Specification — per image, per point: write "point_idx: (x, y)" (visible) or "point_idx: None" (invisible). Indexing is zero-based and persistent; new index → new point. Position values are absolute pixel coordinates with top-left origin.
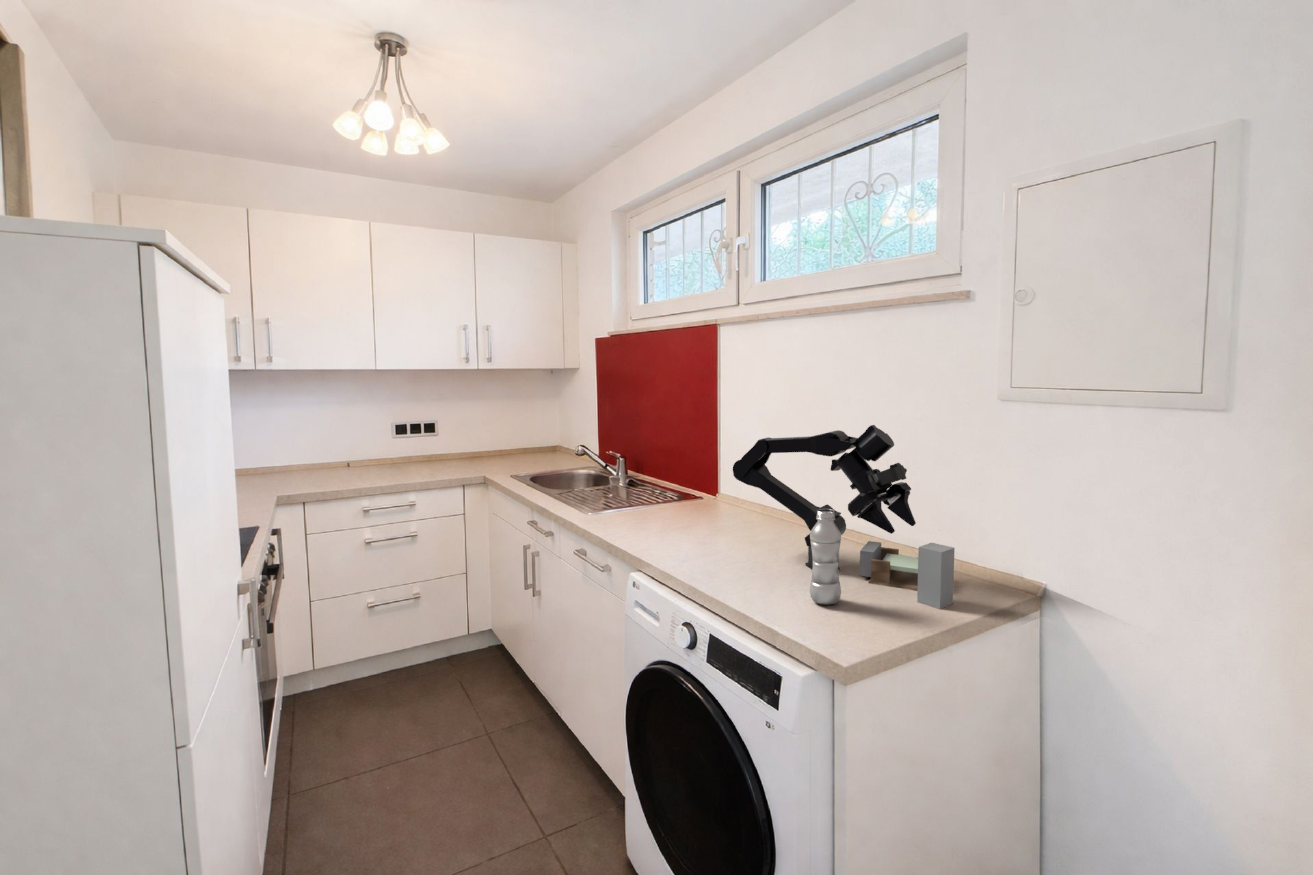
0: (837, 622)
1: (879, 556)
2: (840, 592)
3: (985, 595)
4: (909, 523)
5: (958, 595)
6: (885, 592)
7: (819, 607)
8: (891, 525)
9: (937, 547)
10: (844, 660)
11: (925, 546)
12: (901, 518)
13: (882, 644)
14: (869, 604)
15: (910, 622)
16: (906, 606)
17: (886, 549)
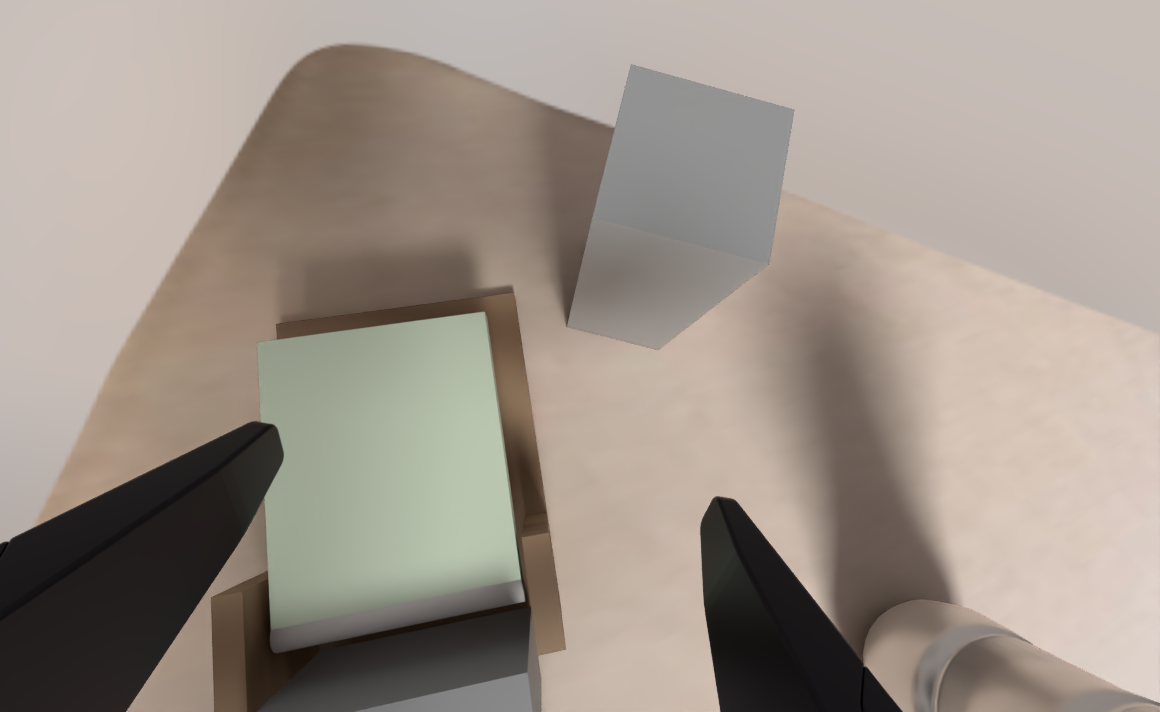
0: (1032, 517)
1: (342, 675)
2: (937, 606)
3: (428, 162)
4: (260, 492)
5: (489, 242)
6: (633, 492)
7: None
8: (749, 545)
9: (698, 154)
10: None
11: (726, 227)
12: (185, 621)
13: (1065, 328)
14: (802, 493)
15: (857, 311)
16: (728, 368)
17: (249, 673)
